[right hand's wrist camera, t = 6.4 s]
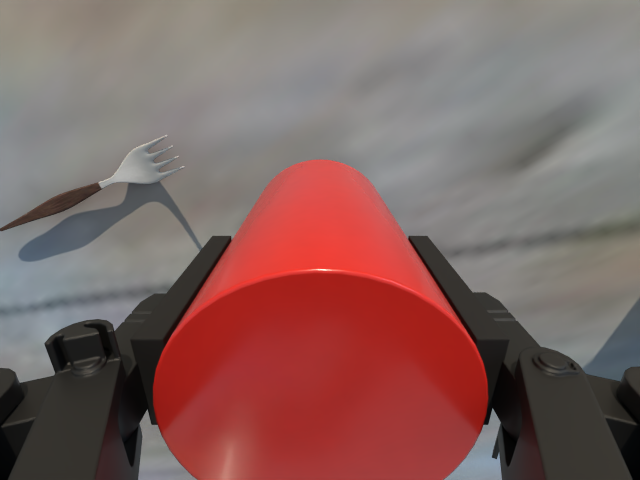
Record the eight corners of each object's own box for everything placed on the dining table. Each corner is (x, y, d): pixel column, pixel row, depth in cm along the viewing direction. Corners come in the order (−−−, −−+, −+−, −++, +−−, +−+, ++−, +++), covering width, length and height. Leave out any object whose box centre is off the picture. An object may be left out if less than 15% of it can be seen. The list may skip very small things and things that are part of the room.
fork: (-7, 212, 26) (-32, 221, 24) (176, 129, 23) (164, 131, 22) (17, 242, 27) (-5, 252, 25) (196, 164, 24) (185, 170, 22)
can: (241, 171, 18) (96, 298, 6) (379, 149, 18) (496, 242, 6) (270, 289, 21) (205, 533, 9) (389, 273, 20) (485, 506, 9)
